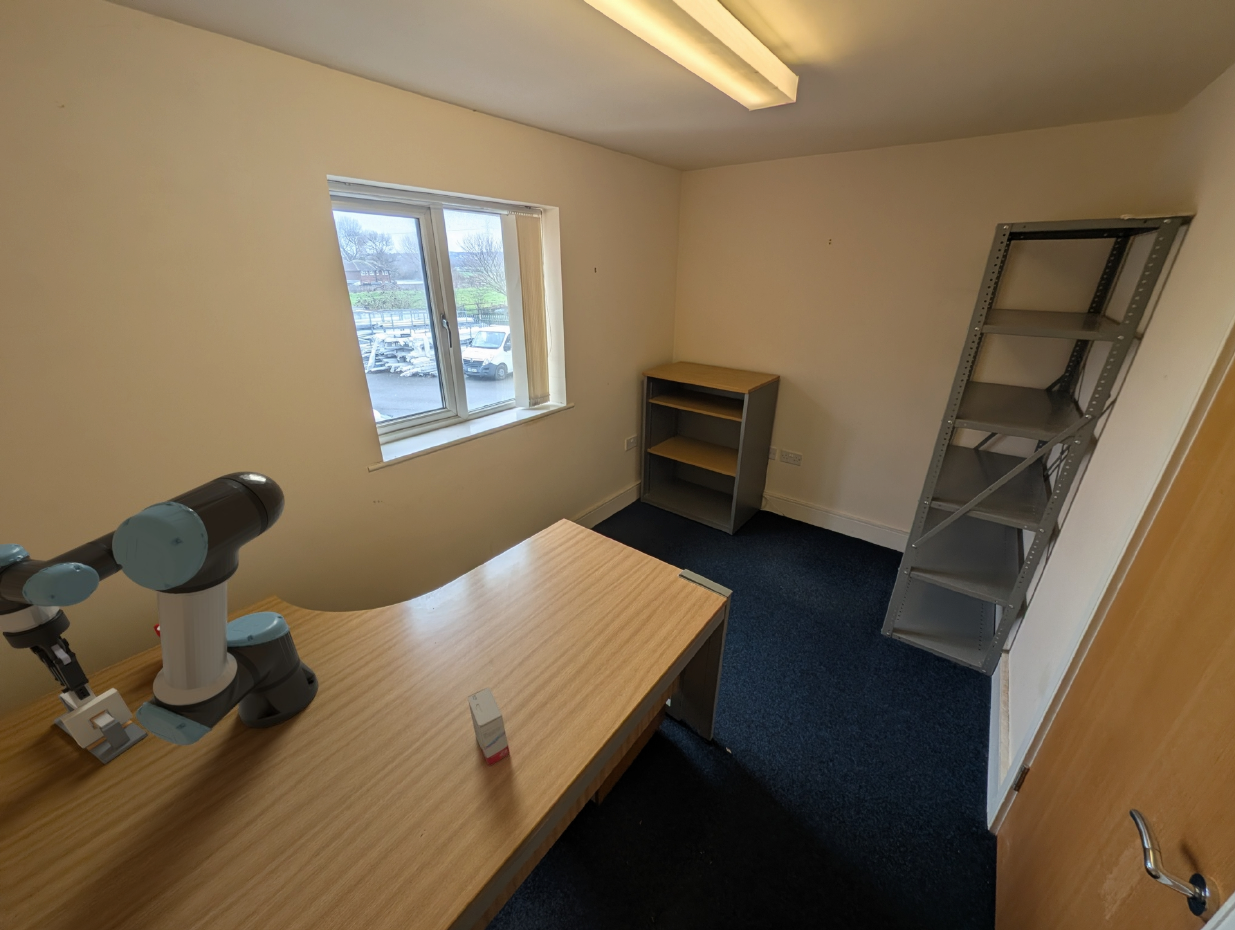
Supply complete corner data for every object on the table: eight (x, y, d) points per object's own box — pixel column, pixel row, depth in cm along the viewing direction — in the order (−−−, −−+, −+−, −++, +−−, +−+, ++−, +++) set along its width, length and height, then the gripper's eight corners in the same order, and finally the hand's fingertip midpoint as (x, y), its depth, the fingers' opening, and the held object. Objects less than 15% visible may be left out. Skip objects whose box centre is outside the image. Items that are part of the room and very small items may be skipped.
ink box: (510, 754, 94) (504, 715, 90) (486, 768, 92) (479, 728, 87) (496, 723, 101) (490, 684, 96) (473, 734, 98) (466, 696, 94)
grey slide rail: (148, 734, 99) (134, 711, 96) (104, 764, 93) (88, 740, 90) (97, 698, 107) (83, 676, 104) (54, 722, 101) (38, 700, 98)
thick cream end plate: (133, 716, 100) (117, 690, 97) (83, 748, 94) (64, 721, 91) (128, 713, 101) (113, 687, 98) (78, 744, 94) (59, 718, 91)
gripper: (75, 616, 87) (128, 703, 96) (46, 598, 92) (98, 682, 101) (16, 643, 81) (78, 733, 90) (-13, 622, 86) (49, 709, 95)
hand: (89, 706), depth 96 cm, fingers closed
